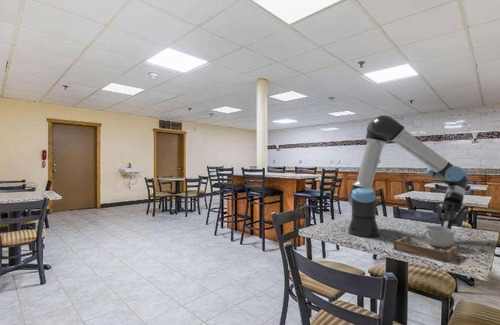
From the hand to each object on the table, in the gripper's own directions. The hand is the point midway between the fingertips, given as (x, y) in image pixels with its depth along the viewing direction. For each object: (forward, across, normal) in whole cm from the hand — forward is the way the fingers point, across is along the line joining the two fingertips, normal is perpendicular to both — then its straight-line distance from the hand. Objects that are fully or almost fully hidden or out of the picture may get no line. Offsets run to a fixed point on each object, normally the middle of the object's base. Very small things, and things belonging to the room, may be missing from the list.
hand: (444, 233), depth 128 cm
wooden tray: (+20, 0, +15) cm, 25 cm away
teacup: (+11, 0, +5) cm, 12 cm away
